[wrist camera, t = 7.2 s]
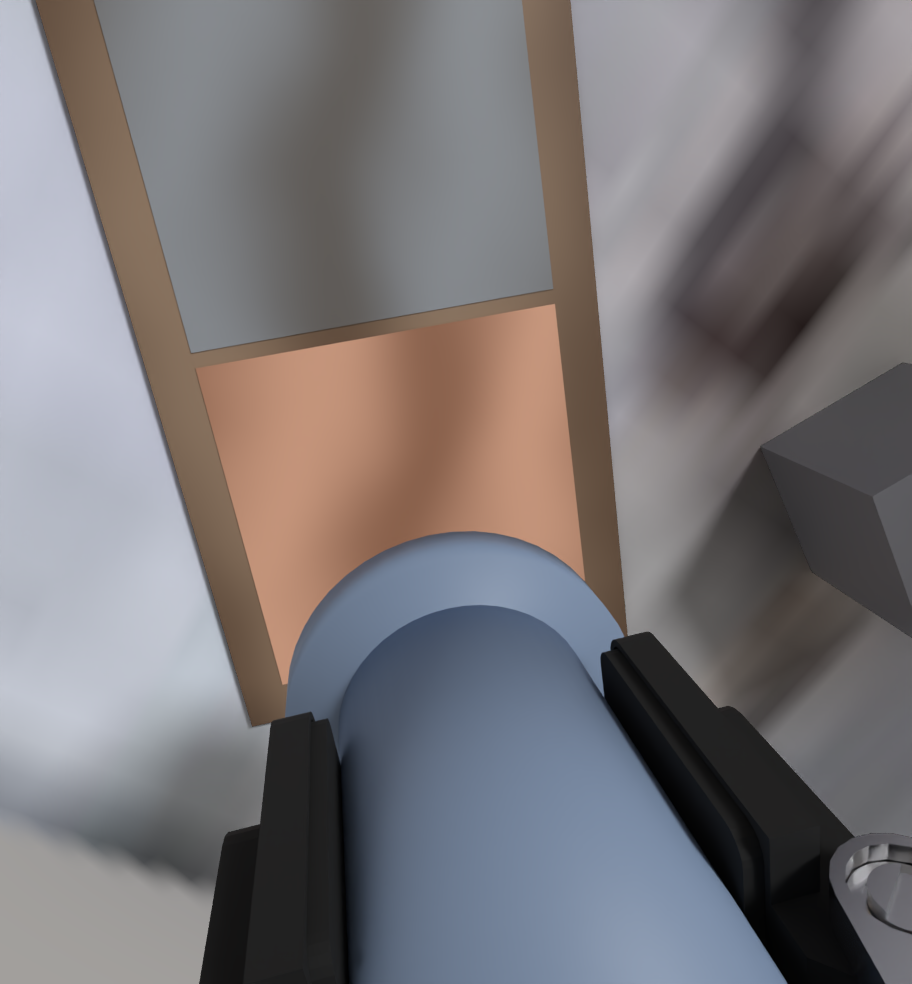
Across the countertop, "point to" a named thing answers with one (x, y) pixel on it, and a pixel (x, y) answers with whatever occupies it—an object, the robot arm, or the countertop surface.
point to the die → (855, 493)
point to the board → (351, 283)
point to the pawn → (501, 783)
